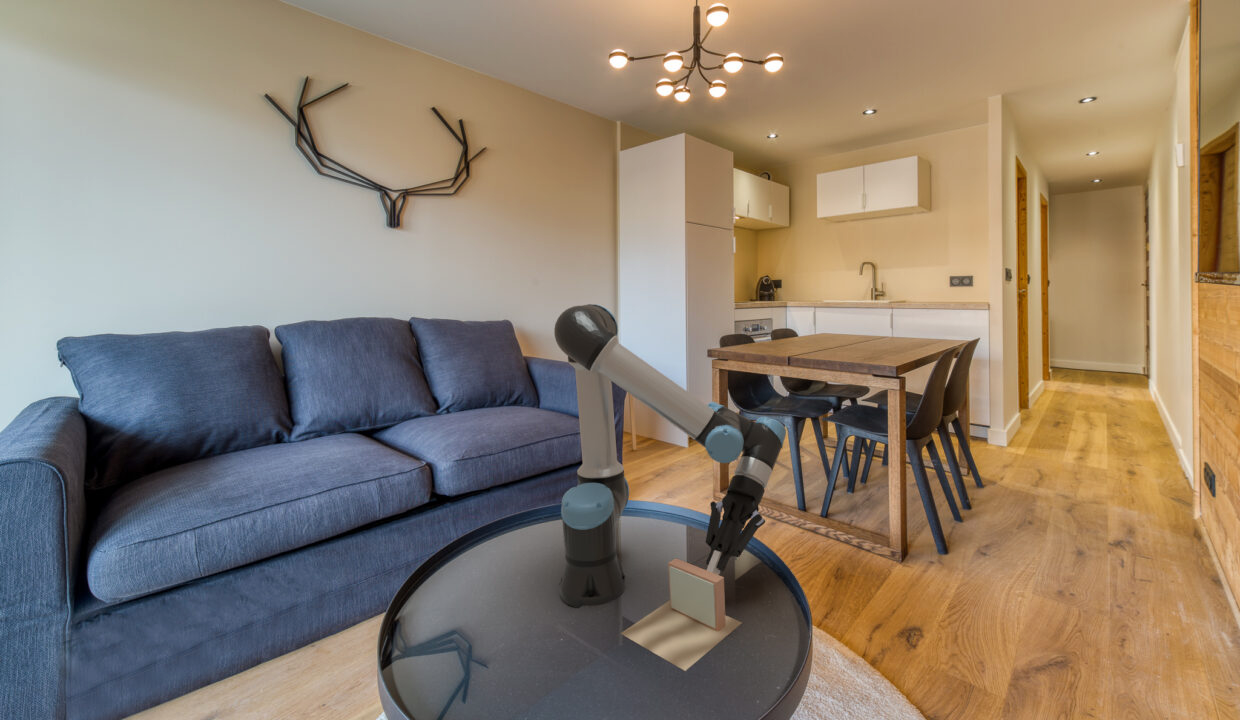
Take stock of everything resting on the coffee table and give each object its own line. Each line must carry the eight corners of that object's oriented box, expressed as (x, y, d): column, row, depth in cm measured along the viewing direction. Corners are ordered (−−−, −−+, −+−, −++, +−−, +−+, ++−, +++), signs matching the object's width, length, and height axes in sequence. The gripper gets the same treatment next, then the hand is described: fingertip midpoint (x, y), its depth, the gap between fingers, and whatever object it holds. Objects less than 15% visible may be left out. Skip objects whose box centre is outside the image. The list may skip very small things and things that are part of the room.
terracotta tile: (669, 608, 112) (667, 563, 110) (678, 602, 114) (675, 558, 112) (717, 632, 103) (715, 583, 102) (725, 625, 105) (723, 577, 104)
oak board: (620, 637, 105) (620, 633, 104) (679, 597, 117) (678, 594, 117) (685, 675, 93) (685, 670, 93) (742, 626, 106) (742, 622, 106)
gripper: (782, 496, 117) (743, 601, 108) (731, 483, 126) (691, 579, 117) (769, 479, 113) (727, 587, 103) (717, 468, 122) (674, 566, 112)
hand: (708, 583), depth 110 cm, fingers closed
